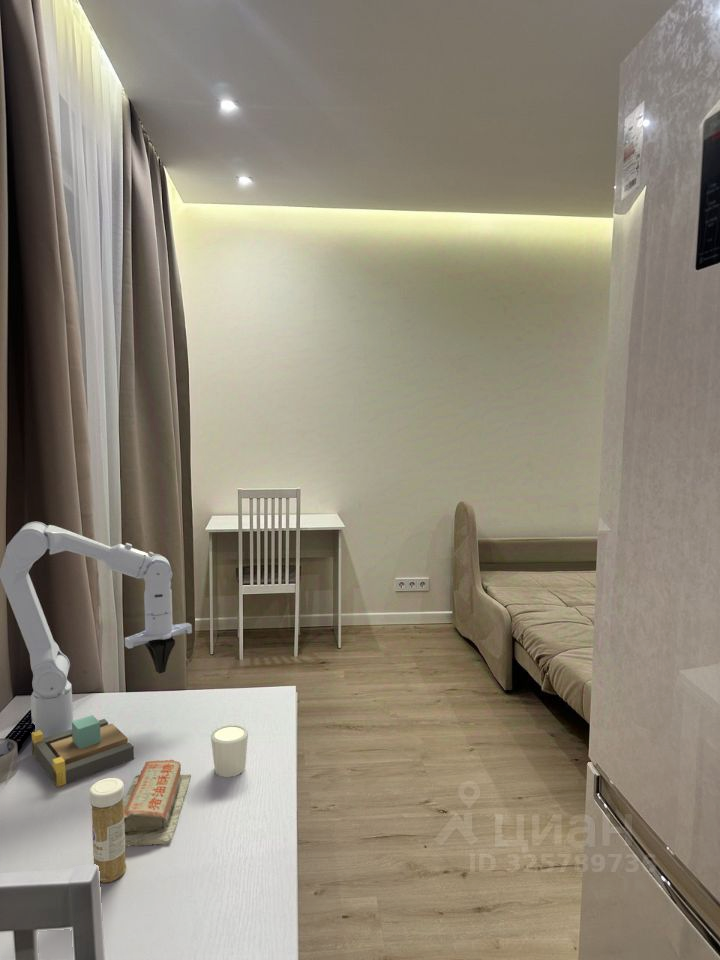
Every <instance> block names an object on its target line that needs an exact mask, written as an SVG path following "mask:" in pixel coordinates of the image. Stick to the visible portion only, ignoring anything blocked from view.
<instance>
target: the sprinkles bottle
mask: <svg viewBox="0 0 720 960" xmlns="http://www.w3.org/2000/svg"><path fill="white" fill-rule="evenodd" d="M124 786H125V785H124V782H123V780H121V779H120V778H116V777H108V778H104V779H101V780H98V781H96V782H95V783H94V784H93V785H92V786H91V787H90V789H89V803H90V805H91V821H92V822H91V823H92V825H91V829H92V856H93V865H94V864H96V865H98V866H99V871H100V881H101V882H100V883H111V882H113V881H115V880H117V879H119V878H120V877H122V876H123V875H124V873H126V870H127V862H126V846H125V824H124V812H123V811H124V810H123V802H124V796H125V787H124Z"/></svg>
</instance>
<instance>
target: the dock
mask: <svg viewBox="0 0 720 960" xmlns="http://www.w3.org/2000/svg"><path fill="white" fill-rule="evenodd" d="M98 721H99V722H100V727H102V726H106V725H109V721H108V720H107V719H105V718H102V719H100V720H99V719H98ZM69 737H72V729H71V730H68V731H64V732H61V733H58V734H55V735H52V736H49V737H46V738H43V733H42V732H41V731H40V730H38V731H35V732H32V733H31V745H32V747H31V749H32V756H34V757H35V759H36V761H37V762H38V763H39V764H40V766H41V767H42V769H43V770H44V771H45V773H46V774H47V776H48V777H49V778H50V781H52V782H53V784H54V785H55V787H57V788H59V787H62V786H65V785H67V784H70V783H73V782H75V781H78V780H80V779H84V778H86V777H89V776H92V775H94V774H96V773H99V772H103V771H104V770H107V769H110V768H113V767H115V766H118V765H122V764H123V763H126V762H130V761H131V760H134V759H135V755H134V754H135V751H134V747H135V746H134V745H133V744H132V743H131V742H128V743H126V744H123V745H121V746H118V747H115V748H112V749H109V750H106V751H104V752H101V753H98V754H95V755H92V756H90V757H87V758H84V759H81V760H78V761H75V762H73V763H70V764H67V765H65V760H64V759H63V758H62V757H58V758H57V757H56V756H55V755H54V754H53V752H52V751H51V750H50V744H51V743H54V742H57V741H60V740H63V739H66V738H69Z"/></svg>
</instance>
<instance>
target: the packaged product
mask: <svg viewBox="0 0 720 960" xmlns="http://www.w3.org/2000/svg"><path fill="white" fill-rule="evenodd" d="M181 767H182V765H181V763H180V761H177V760H174V759H169V760H168V759H165V760H162V759H161V760H158V759H157V760H148V761H145V764H144V765H143V767H142V770H141V771H140V774H138V775H136V776H134V779H133V781H132V784H131V786H130V788H129V790H128V792H127V793H126V796H125V798H124V799H123V810H124V811H123V812H124V824H125V847H132V846H131V845H144V846H155V845H156V844H163V845H167V844H166V843H172V841H171V840H173V838H172V837H174V835H175V832H176V829H177V825H178V820H179V817H180V814H181V812H182V808H183V806H184V803H185V799H186V794H187V792H188V788H189V785H190V779H191V777H192V775H191V773H190V774H181V770H182V769H181ZM186 791H187V792H186ZM183 802H184V803H183ZM182 805H183V806H182ZM152 844H154V845H152ZM128 845H130V846H128Z"/></svg>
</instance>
